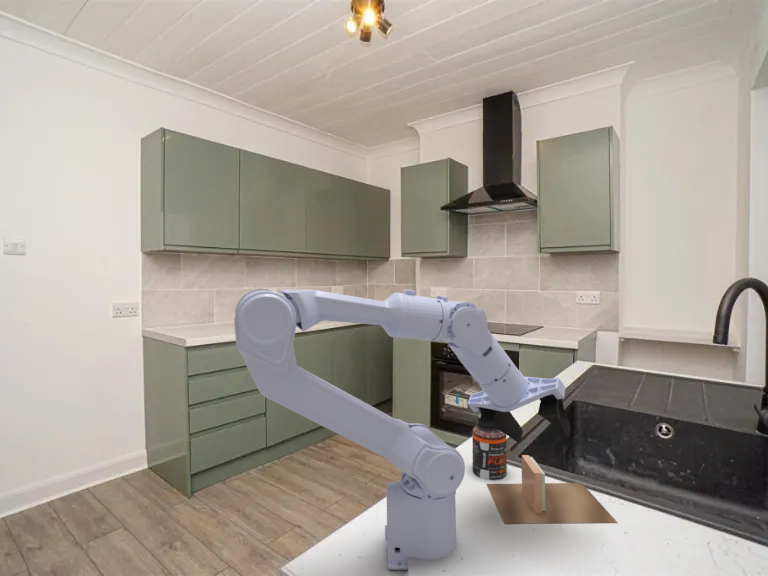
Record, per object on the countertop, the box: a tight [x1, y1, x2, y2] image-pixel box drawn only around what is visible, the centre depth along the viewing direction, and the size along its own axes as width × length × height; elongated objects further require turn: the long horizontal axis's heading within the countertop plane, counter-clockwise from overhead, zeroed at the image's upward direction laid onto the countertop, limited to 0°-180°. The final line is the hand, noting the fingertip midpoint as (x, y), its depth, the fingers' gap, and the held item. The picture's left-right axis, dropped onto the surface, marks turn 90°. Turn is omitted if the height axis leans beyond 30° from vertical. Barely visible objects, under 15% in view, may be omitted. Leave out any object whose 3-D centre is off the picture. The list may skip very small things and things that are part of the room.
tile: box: [521, 454, 546, 513], centre depth 63 cm, size 2×6×6 cm, turn 179°
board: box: [486, 482, 619, 525], centre depth 63 cm, size 16×11×1 cm
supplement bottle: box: [472, 413, 508, 481], centre depth 73 cm, size 6×6×11 cm
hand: (542, 434), depth 60 cm, fingers open, 7 cm apart
